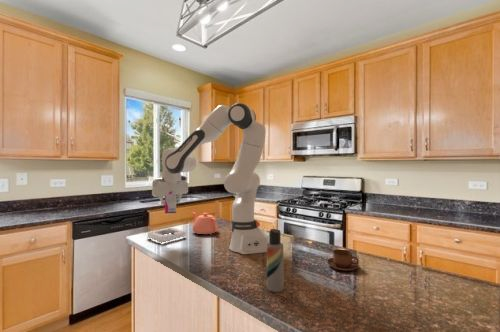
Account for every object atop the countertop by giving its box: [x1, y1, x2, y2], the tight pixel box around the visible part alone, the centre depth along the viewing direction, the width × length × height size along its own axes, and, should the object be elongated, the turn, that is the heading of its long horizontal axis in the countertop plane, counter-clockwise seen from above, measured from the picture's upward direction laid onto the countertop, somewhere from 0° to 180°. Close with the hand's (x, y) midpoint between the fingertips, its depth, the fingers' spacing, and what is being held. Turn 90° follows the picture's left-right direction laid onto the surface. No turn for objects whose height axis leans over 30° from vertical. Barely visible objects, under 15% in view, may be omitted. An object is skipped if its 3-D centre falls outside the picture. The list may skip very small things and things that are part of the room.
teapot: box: [191, 211, 219, 235], centre depth 160 cm, size 22×16×12 cm
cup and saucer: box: [327, 249, 359, 272], centre depth 106 cm, size 12×12×6 cm
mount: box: [147, 227, 187, 243], centre depth 147 cm, size 15×15×5 cm
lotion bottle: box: [266, 228, 285, 293], centre depth 88 cm, size 6×6×20 cm
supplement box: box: [164, 191, 177, 214], centre depth 139 cm, size 6×6×12 cm
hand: (170, 203), depth 139 cm, fingers closed on supplement box, 8 cm apart
